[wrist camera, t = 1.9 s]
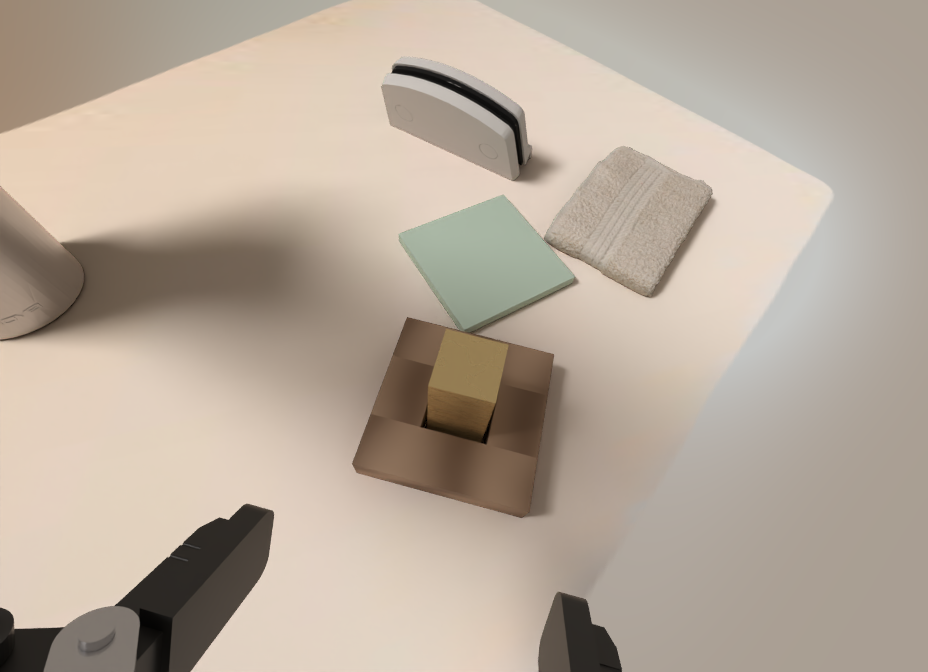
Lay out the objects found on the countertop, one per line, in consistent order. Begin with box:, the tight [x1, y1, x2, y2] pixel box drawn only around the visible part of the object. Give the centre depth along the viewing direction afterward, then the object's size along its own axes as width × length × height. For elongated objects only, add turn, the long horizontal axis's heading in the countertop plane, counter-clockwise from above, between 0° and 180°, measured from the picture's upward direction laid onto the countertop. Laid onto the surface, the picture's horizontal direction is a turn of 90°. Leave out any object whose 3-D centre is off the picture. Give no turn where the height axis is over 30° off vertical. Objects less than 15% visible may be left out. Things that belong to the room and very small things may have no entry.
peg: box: [427, 329, 509, 443], centre depth 30 cm, size 4×4×9 cm
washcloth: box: [544, 146, 713, 297], centre depth 45 cm, size 12×18×3 cm, turn 146°
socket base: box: [352, 317, 554, 518], centre depth 33 cm, size 12×12×2 cm
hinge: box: [381, 57, 532, 181], centre depth 47 cm, size 17×5×10 cm, turn 60°
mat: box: [399, 195, 575, 333], centre depth 41 cm, size 12×12×1 cm
